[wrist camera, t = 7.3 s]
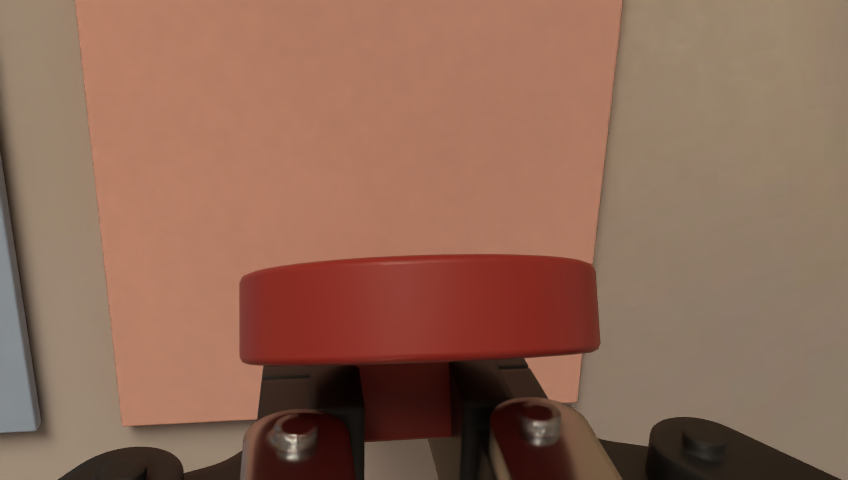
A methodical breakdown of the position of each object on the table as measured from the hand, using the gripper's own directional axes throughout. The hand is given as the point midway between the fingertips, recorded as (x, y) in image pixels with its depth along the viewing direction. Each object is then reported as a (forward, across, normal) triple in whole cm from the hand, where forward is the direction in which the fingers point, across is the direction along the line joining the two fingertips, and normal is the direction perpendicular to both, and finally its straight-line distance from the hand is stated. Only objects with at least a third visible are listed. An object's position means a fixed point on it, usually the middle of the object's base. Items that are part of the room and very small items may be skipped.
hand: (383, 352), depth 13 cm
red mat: (+5, 0, -2) cm, 6 cm away
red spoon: (0, 0, -1) cm, 1 cm away
